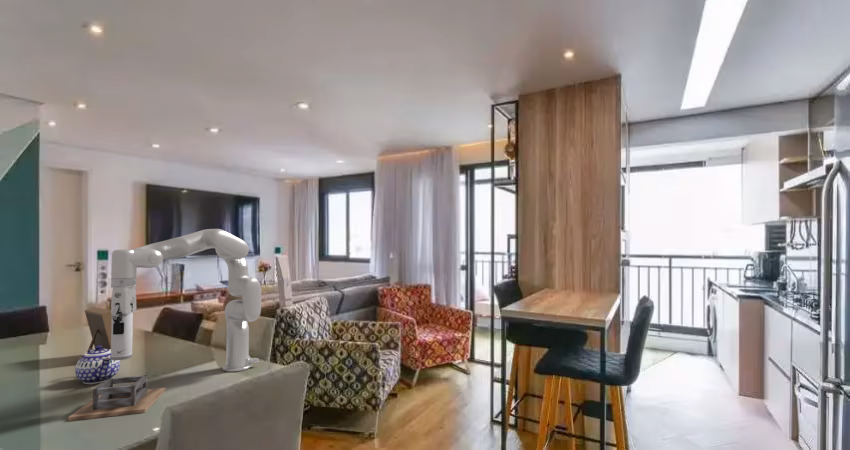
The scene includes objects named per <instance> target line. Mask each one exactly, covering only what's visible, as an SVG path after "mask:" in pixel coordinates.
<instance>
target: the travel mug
mask: <svg viewBox="0 0 850 450" xmlns="http://www.w3.org/2000/svg"><path fill="white" fill-rule="evenodd" d="M130 305H132V306H131V307H132V309H133V303H131V304H130ZM133 313H134V312H133V310H131V313H130V314H128V315H125V314H124V320H123V323H124V334H117V335H114V334H113V317H112V326H111V360H120V361H123V360H129V359H131V358H132V357H133V333H134V332H133V331H134V330H133V328H134V327H133V326H134V325H133V324H134V314H133ZM118 314H122V312H118ZM119 317H120V319H121V316H119Z"/></svg>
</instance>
